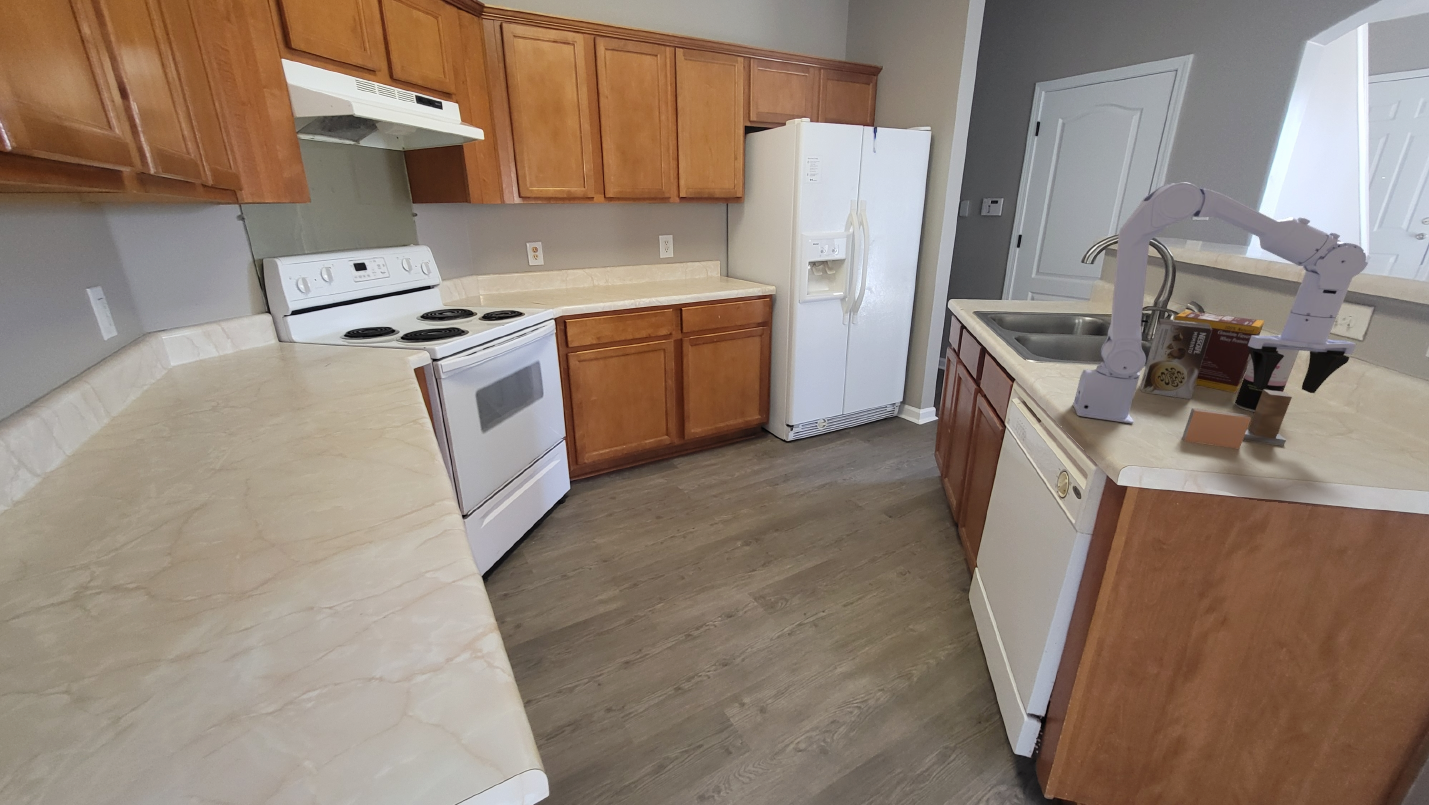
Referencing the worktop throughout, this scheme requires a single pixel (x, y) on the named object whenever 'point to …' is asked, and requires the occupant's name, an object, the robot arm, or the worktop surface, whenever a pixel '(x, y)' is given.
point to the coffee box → (1175, 358)
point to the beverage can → (1277, 382)
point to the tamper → (1268, 418)
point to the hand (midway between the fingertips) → (1283, 389)
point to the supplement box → (1224, 349)
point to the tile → (1216, 428)
